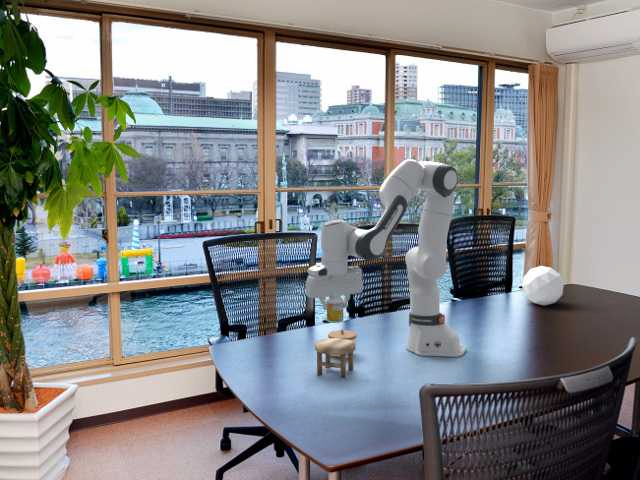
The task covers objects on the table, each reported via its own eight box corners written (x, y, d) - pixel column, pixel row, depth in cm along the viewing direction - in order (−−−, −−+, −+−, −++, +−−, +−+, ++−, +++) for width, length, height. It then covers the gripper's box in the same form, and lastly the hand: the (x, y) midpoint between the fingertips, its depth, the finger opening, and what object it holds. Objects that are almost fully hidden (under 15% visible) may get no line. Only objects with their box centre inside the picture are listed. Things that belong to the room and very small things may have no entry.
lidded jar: (360, 350, 233) (359, 327, 232) (352, 359, 223) (352, 334, 222) (333, 348, 236) (333, 325, 235) (324, 356, 226) (324, 332, 225)
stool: (360, 367, 214) (360, 340, 212) (348, 381, 201) (348, 352, 199) (323, 363, 219) (322, 336, 217) (309, 376, 206) (308, 348, 204)
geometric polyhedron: (549, 319, 300) (559, 293, 286) (511, 301, 309) (519, 274, 295) (565, 295, 310) (575, 269, 296) (528, 278, 319) (535, 252, 305)
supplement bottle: (326, 319, 210) (325, 290, 209) (342, 318, 210) (341, 289, 209) (327, 323, 204) (327, 293, 203) (344, 323, 205) (344, 293, 204)
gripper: (357, 264, 212) (357, 302, 214) (303, 269, 204) (304, 309, 205) (366, 266, 206) (366, 306, 208) (311, 272, 198) (311, 313, 200)
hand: (335, 308), depth 207 cm, fingers closed on supplement bottle, 6 cm apart
